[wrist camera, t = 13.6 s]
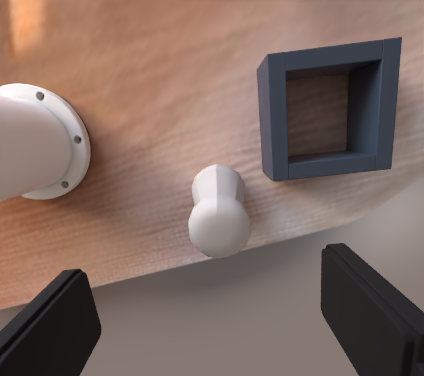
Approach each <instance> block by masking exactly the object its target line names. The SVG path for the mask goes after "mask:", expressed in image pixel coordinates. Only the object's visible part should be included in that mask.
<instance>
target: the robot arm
mask: <svg viewBox="0 0 424 376" xmlns="http://www.w3.org/2000/svg"><path fill="white" fill-rule="evenodd" d="M80 138H81V139H82V141H81V140H80ZM90 157H91V151H90V142H89V136H88V134H87V131H86V128H85V126H84V124H83V122H82V120H81V119H80V117H79V115H78V114H77V113H76V112H75V110H74V109H73V108H72V107H71V106H70V105H69V104H68V103H67V102H66V101H65V100H63V99H62V98H61V97H59V96H58V95H56V94H54V93H53V92H51V91H48V90H46V89H43V88H41V87H37V86H32V85H28V84H9V85H4V86H2V87H0V202H2V201H5V200H8V199H11V198H14V197H16V196H22V197H25V198H29V199H35V200H47V199H52V198H56V197H59V196H61V195H64V194H66V193H67V192H69V191H71V190H73V189H74V188H75V187H76V186H77V185H78V184H79V183H80V182H81V181H82V179H83V178H84V176H85V174H86V172H87V170H88V167H89V163H90ZM321 311H322V314H323V316H324V318H325V320H326V321H327V323H328V325H329V326H330V328H331V330H332V331H333V333H334V335H335V336H336V338H337V340H338V341H339V343H340V345H341V347H342V348H343V350H344V352H345V353H346V355H347V357H348V358H349V360H350V362H351V363H352V365H353V367H354V368H355V370H356V372H357V373H358V375H359V376H424V312H423V311H422V310H420V309H419V308H418V307H417V306H416V305H415V304H414V303H412V302H411V301H410V300H409V299H408V298H406V297H405V296H404V295H403V294H402V293H401V292H400V291H399V290H397V289H396V288H395V287H394V286H393V285H392V284H390V283H389V282H388V281H387V280H386V279H385V278H383V277H382V276H381V275H380V274H379V273H378V272H377V271H375V270H374V269H373V268H372V267H371V266H369V265H368V264H367V263H366V262H365V261H364V260H362V259H361V258H360V257H359V256H358V255H357V254H355V252H353V251H352V250H351V249H350V248H349V247H347V246H346V245H345V244H343V243H339V244H329V245H327V246H326V249H323V250H322V264H321ZM100 335H101V324H100V320H99V317H98V313H97V310H96V306H95V302H94V299H93V296H92V292H91V288H90V285H89V281H88V278H87V275H86V273H85V272H82V270H81V269H73V270H64V271H62V272H61V273H60V274H59V275H58V276H57V277H56V278H55V279H54V280H53V281H52V282H51V283H50V284H49V285H48V286H47V287H46V288H44V289H43V290H42V291H41V292H40V293H39V294H38V295H37V296H36V297H35V298H34V299H33V300H32V301H31V302H30V303H29V304H28V305H27V306H26V307H25V308H24V309H23V310H22V311H21V312H20V313H19V314H18V315H16V317H14V319H12V321H10V322H9V323H8V324H7V325H6V326H5V327H4V328H3V329H2V330H1V331H0V376H79V375H80V373H81V372H82V370H83V368H84V366H85V364H86V362H87V360H88V358H89V357H90V355H91V353H92V351H93V349H94V347H95V345H96V343H97V342H98V339H99V338H100Z"/></svg>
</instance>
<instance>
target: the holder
mask: <svg viewBox="0 0 424 376" xmlns="http://www.w3.org/2000/svg"><path fill="white" fill-rule="evenodd" d="M401 42H402V37H398V38H391V39H384V40H375V41H368V42H360V43H352V44H344V45H336V46H329V47H321V48H313V49H305V50H297V51H290V52H281V53H273V54H267V56H266V57H265V58H264V60H263V61H262V63H261V64H260V66H259V67H258V69H257V80H258V97H259V114H260V132H261V149H262V166H263V172H264V173H265V174H266V175H267V176H268V177H269V178H270V179H271V180H272V181H282V180H290V179H300V178H310V177H319V176H329V175H338V174H348V173H357V172H367V171H374V170H375V171H377V170H386V169H391V164H392V152H393V139H394V127H395V115H396V103H397V91H398V78H399V66H400V54H401ZM347 73H349V85H348V116H347V147H346V150H344V151H334V152H325V153H316V154H307V155H298V156H289V157H288V135H287V101H286V81H290V80H298V79H306V78H315V77H323V76H331V75H339V74H347Z"/></svg>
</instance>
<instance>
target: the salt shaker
mask: <svg viewBox="0 0 424 376" xmlns="http://www.w3.org/2000/svg"><path fill="white" fill-rule="evenodd" d="M192 196H193V202H194V208H193V210H192V213H191V216H190V219H189V221H188V226H189V235H190V240H191V241H192V243H193V244H194V246H195V247H196V249H197V250H198V251H200V252H202V253H203V254H205V255H207V256H208V257H215V258H225V257H229V256H232V255H235V254H236V253H238V252H239V251H240V250H241V249H242V248H244V247H245V245H246V243H247V241H248V239H249V237H250V233H251V229H250V217H249V215H248V214H247V212H246V210H245V209H244V207H243V203H244V198H245V186H244V182H243V180H242V178H241V176H240V175H239V173H238V172H236V171H235V170H233V169H232V168H230V167H229V166H224V165H217V164H216V165H213V166H210V167H207V168H204V169H203V170H202V171H201V172H200V173H199V174H198V175H197V176H196V177H195V179H194V182H193V185H192Z"/></svg>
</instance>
